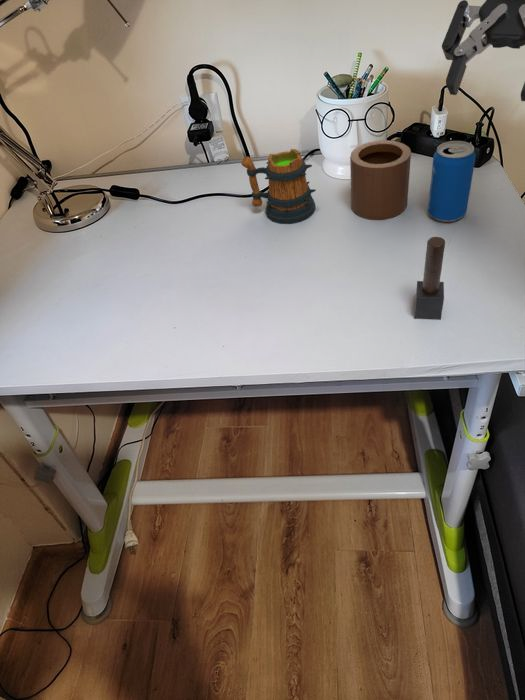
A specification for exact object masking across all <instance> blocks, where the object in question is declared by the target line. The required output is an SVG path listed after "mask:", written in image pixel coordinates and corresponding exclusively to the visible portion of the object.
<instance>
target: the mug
mask: <svg viewBox="0 0 525 700" xmlns="http://www.w3.org/2000/svg"><path fill="white" fill-rule="evenodd" d="M306 159H307V158H306V157H304V158H303V156H302V155H301V152H300V151H299V150H297V149H296V148H290V151H281V152H278V153H276V154H274V153H270V154H269V155H268V158H267V161H266V164H267V165H266V167H258V168H256V166H255V164H254V162H253V160H252V158H251V157H250V156H245V157H244V158H243V159H242V160H241V162H240V164H241V166H242V167H244V168H245V169H246V174H247V176H248V179H249V185H250V188H251V190H252V192H251V197H252V201H251V204H252V206H253V207H258V208H259V207H262V205H263V200H262V198H263V199H267V202H266V206H265V214H266V217H267V219H269V220H270V221H271V222H273V223H276V224H280V225H292V224H297V223H301V222H303V221H306V220H307V219H309V218H311V217H312V216H313V215H314V213H315V211H316V202H315V199H314V198H313V197H312V196H313V195H312V193H315V192H316V189H314V188H313V189H311V187H310V186H309V185H310V181H307V173H306V172H307V170H308V169H309V168H312V167H313V164H307V163H306V162H305V161H306ZM258 174H263V175H266V177H265V178H264V180H268V186H267V187H268V190H267V192H262V190H260V187H259V183H258V179H257V175H258Z"/></svg>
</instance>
